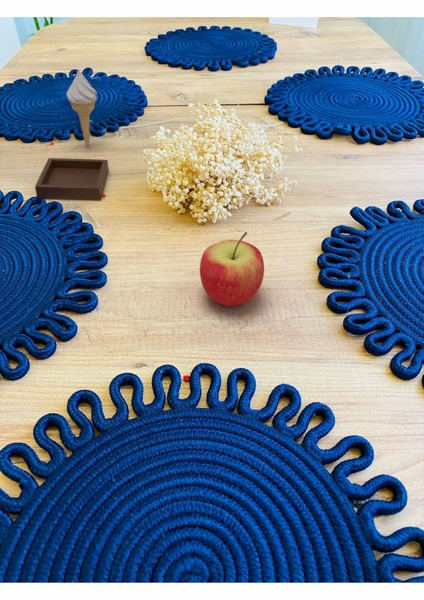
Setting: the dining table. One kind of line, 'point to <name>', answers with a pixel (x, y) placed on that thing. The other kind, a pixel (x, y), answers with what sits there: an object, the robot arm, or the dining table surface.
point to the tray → (72, 179)
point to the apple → (231, 271)
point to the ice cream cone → (82, 102)
